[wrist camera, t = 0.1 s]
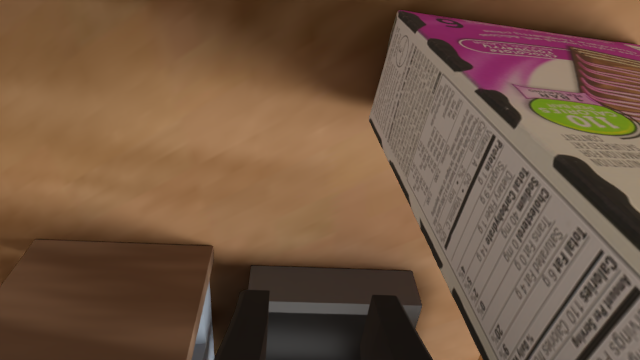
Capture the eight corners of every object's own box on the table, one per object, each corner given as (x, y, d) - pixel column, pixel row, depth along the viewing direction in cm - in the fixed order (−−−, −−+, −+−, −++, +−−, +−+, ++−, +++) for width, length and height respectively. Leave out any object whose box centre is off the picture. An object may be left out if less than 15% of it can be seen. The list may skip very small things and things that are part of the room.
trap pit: (385, 368, 30) (392, 403, 28) (250, 365, 30) (247, 402, 28) (412, 271, 26) (422, 305, 23) (251, 265, 25) (246, 300, 23)
